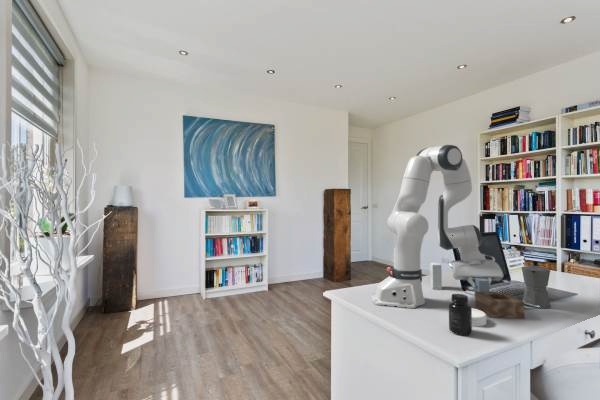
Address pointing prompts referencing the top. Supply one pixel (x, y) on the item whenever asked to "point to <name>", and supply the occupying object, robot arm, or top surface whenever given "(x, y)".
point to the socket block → (499, 305)
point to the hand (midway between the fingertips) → (482, 287)
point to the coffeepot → (536, 285)
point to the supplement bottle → (460, 315)
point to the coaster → (478, 317)
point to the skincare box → (435, 276)
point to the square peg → (482, 285)
